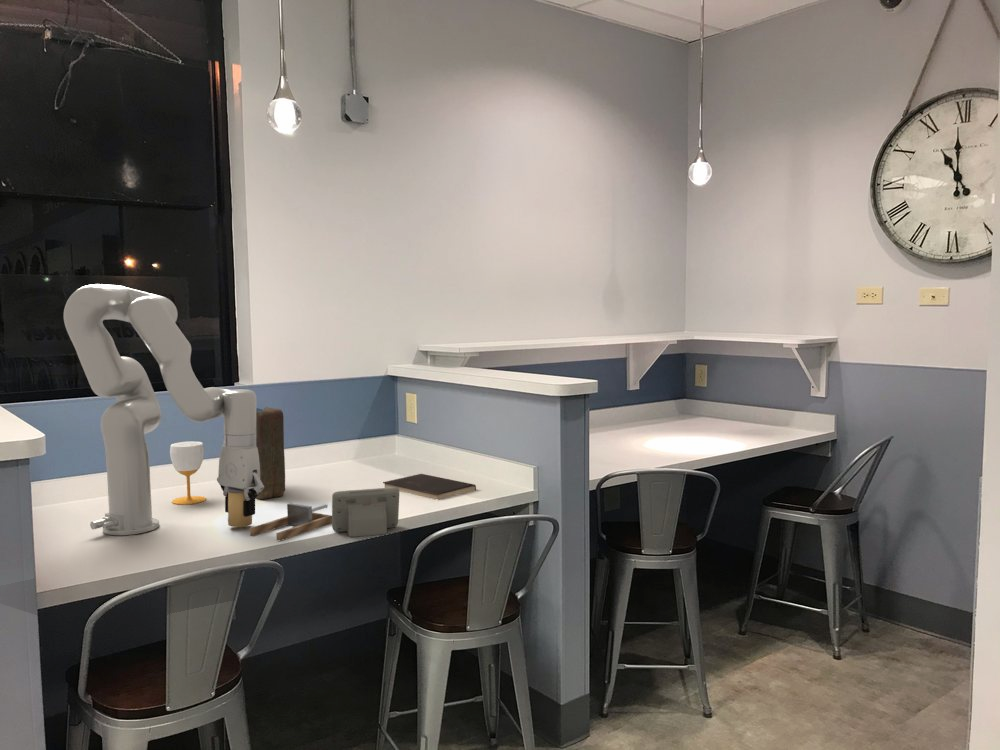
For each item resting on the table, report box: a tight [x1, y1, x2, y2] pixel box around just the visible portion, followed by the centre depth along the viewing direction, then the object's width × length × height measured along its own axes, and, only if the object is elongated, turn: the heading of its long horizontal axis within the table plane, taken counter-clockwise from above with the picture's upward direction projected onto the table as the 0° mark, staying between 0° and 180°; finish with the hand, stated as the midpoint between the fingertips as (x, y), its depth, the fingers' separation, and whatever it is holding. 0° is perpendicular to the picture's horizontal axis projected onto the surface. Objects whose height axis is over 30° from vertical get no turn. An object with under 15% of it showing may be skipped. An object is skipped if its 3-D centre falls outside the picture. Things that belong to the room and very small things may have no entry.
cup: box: [169, 441, 207, 506], centre depth 227 cm, size 9×9×16 cm
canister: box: [256, 406, 286, 500], centre depth 235 cm, size 19×8×25 cm, turn 41°
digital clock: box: [331, 487, 400, 538], centre depth 196 cm, size 16×9×11 cm, turn 94°
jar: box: [227, 487, 253, 528], centre depth 200 cm, size 6×6×9 cm
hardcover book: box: [382, 473, 477, 500], centre depth 240 cm, size 16×23×2 cm
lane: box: [249, 512, 332, 541], centre depth 199 cm, size 18×10×2 cm, turn 150°
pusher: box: [286, 502, 328, 526], centre depth 205 cm, size 10×7×5 cm
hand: (240, 512), depth 200 cm, fingers closed on jar, 5 cm apart
